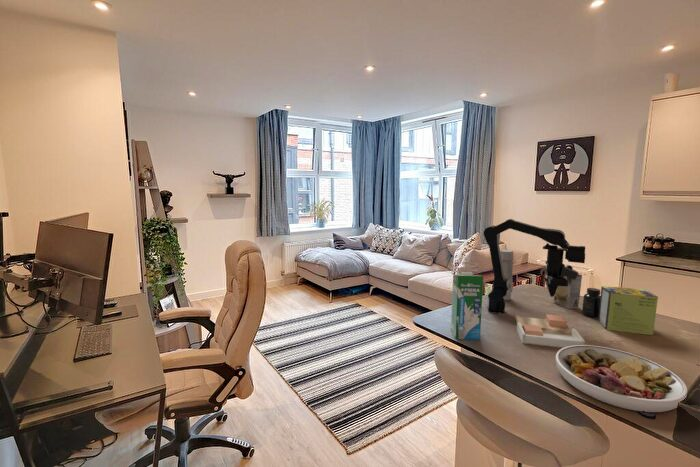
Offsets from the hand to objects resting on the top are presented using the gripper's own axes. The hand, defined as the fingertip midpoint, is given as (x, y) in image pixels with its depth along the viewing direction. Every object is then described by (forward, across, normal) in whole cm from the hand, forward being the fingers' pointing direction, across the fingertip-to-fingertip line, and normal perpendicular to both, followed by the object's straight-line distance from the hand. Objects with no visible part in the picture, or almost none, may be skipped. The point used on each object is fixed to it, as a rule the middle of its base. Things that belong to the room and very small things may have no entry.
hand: (551, 296), depth 144 cm
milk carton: (+11, -24, +34) cm, 44 cm away
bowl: (+12, -46, -7) cm, 48 cm away
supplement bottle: (+11, +13, -19) cm, 25 cm away
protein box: (+11, +2, -27) cm, 29 cm away
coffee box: (+11, +24, -12) cm, 29 cm away
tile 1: (+11, -17, +10) cm, 22 cm away
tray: (+11, -20, +5) cm, 23 cm away
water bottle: (+11, +24, +15) cm, 31 cm away
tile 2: (+9, -8, 0) cm, 12 cm away
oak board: (+11, -9, +5) cm, 15 cm away
